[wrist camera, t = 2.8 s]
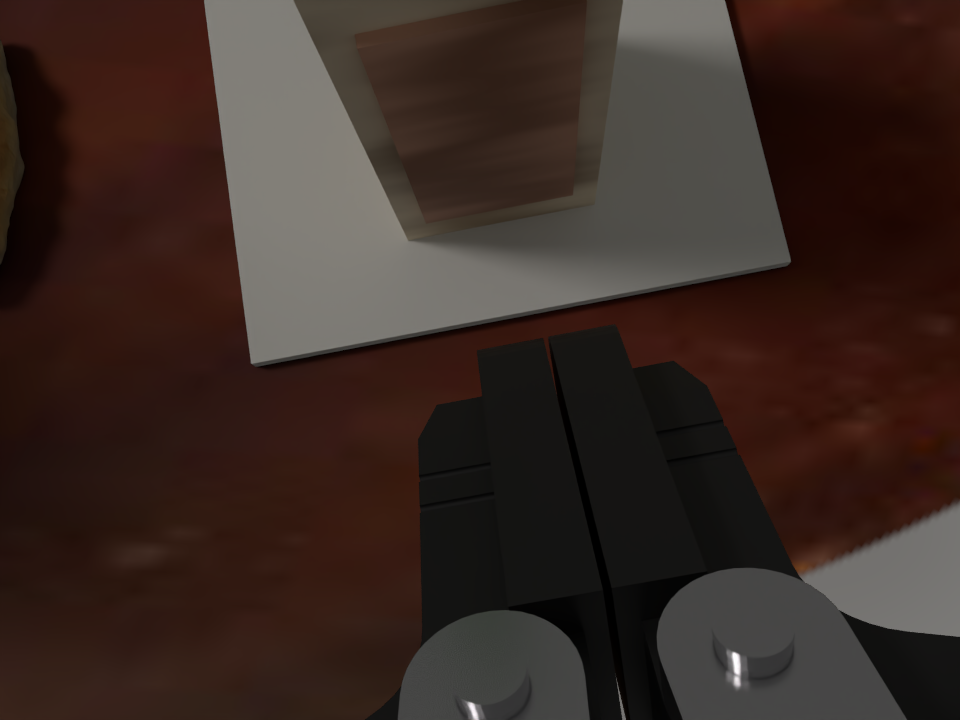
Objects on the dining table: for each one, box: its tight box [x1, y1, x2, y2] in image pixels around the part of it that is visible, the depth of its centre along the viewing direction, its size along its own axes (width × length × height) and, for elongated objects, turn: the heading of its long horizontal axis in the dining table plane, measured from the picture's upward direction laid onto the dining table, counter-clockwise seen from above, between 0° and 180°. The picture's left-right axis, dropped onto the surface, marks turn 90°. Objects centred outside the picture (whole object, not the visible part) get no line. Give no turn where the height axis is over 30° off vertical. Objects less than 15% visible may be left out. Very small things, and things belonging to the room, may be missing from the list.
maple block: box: [293, 0, 623, 240], centre depth 23 cm, size 6×6×14 cm
